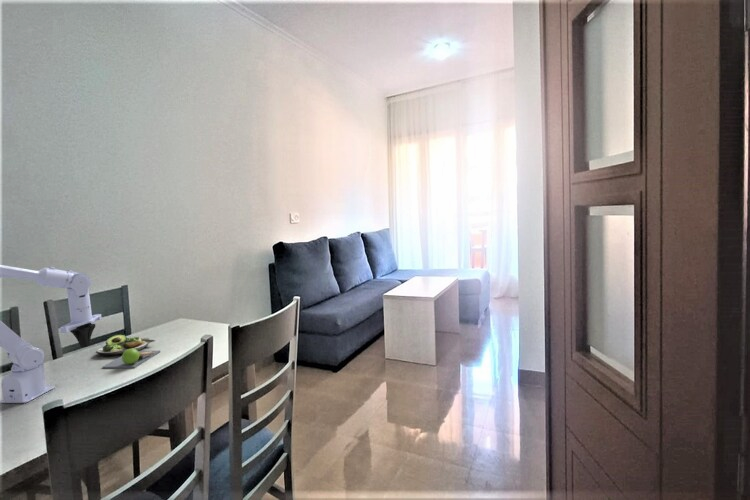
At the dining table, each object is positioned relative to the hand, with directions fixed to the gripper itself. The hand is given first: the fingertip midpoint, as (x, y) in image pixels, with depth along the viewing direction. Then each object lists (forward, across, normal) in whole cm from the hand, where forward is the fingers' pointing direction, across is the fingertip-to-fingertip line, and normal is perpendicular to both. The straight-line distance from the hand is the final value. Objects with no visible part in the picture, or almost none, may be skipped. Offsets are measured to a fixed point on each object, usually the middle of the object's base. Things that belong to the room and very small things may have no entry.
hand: (85, 346), depth 126 cm
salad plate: (+10, +24, +5) cm, 26 cm away
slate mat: (+10, +13, -6) cm, 18 cm away
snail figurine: (+6, +5, -10) cm, 13 cm away
